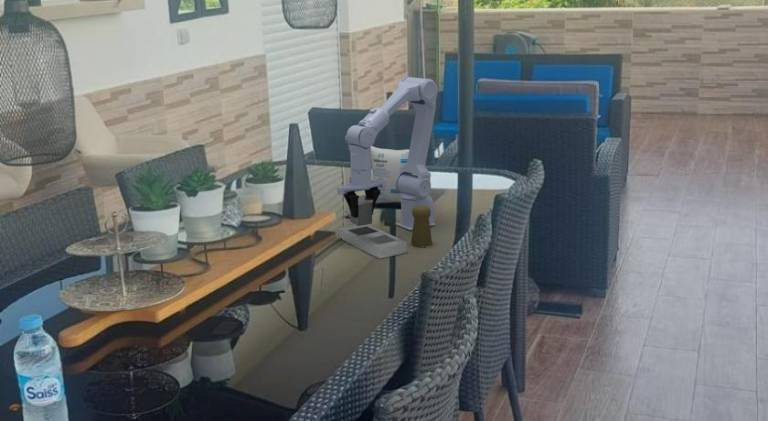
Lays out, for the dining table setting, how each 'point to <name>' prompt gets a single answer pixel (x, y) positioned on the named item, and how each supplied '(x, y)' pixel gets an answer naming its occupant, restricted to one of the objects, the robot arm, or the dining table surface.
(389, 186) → the pouch
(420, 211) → the cork
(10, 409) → the dining table surface
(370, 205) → the grey rectangular block
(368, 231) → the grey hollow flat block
